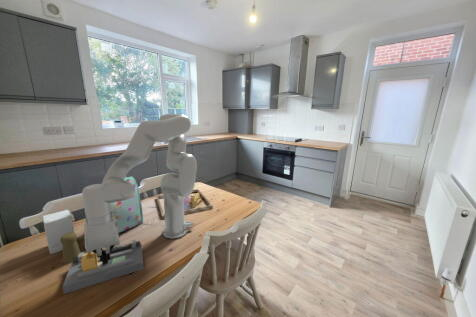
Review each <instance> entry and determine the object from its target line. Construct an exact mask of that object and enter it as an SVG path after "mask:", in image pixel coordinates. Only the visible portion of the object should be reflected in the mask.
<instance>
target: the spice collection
mask: <svg viewBox="0 0 476 317" xmlns="http://www.w3.org/2000/svg"><path fill="white" fill-rule="evenodd" d="M183 198H184V210H188V209H193V208H197V207H198V206H199V205H202V204H201V202H202V203H203V201H202V197H201V196H200V194H199V193H194V195H191V194H190V195H189V196H187V197H183Z"/></svg>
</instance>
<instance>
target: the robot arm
mask: <svg viewBox="0 0 476 317" xmlns="http://www.w3.org/2000/svg"><path fill="white" fill-rule="evenodd" d="M191 126H192V124H191V119H190V118H189V117H188V116H187V115H186V114H183V113H164V114H162V115H161V116H160V117H159V119H158V120H144V121H141V122H140V123H139V125H138V126H137V127H136V130H135V132H134V134H133V136H132V138H131V140H130V141H129V143H128V145H127V146H126V149H125V151H124V152H123V153H122V154H121V155H120V156H118V158H116V159H115V160H114V162H113V163H112V164H111V165H110V167H109V168H108V169H107V172H106V174H105V175H104V177H103V179H102V182H101V183H95V184H90V185H87V186H85V187H84V188H83V189H82V192H81V195H82V202H83V201H84V203H83V207H84V214H86V216H85V223H84V231H83V234H84V235H83V237H84V238H83V239H84V248H85V254H86V253H92V252H93V253H96V254H98V256H100V262H102V263H103V264H105V263H106V264H107V263H108V260H109V259H110V251H111V250H112V249H113V247H117V246H121V240H120V233H119V231H118V226H117V222H116V219H115V217H113V216H116V212H112V210H111V204H110V203H113V202H119V201H124V200H127V199H129V198H131V197H132V196H133V194H134V192H135V188H134V186H133V185H132V184H131V183H130V182H127V181H125V180H124V179H125V177H127V175H128V173H129V172H130V170H132V168H134V167H136V166H139V165H140V164H142V163H145V162H146V161H147V160H148V158H149V157H150V154H151V152H152V150H153V148H154V146H155V144H156V143H163V142H168V143H167V144H168V146H167V153H166V167H167V168H168V169H169V170H171V171H174V172H168V173H166V174H164V175H162V178H161V179H160V189H161V191H162V195H163V198H162V199H163V208H164V211H163V212H164V214H165V219H164V222H165V225H164V226H165V227H164V228H163V229H162V236H163V237H164V238H167V239H173V240H174V239H178V238H181V237H183V236H185V235H186V234H187V233H188V230H189V229H188V228H189V227H192V226H195V222H194V221H191V220H187V221H185V215H184V198H183V197H187V196H189V195H191V194H193V193H192V191H193V190H195V183H196V177H197V170H198V163H197V159H196V157H195V155H193V154H191V153H187V138H186V134H187V133H188V132H189V130H190V129H191ZM175 172H178V173H175ZM86 221H87V222H86ZM103 248H105V249H103ZM104 250H105V251H104Z"/></svg>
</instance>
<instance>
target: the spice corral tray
mask: <svg viewBox="0 0 476 317" xmlns="http://www.w3.org/2000/svg"><path fill="white" fill-rule="evenodd" d="M192 192H198V193H199V194H200V195H201V196H200V195H199V196H200V197H201V198H203V199H204V200H205V201H204V200H203V201H204V202H205V203H206V205H203V206H197V207H196V208H191V209H188V210H184V216H185V215H189V214H194V213H198V212H203V211H207V210H212V209H214V208H213V207H214V206H213V204H212V202H210V201H209V199H208V197H206V196H205V195H204V194H203V192H201V190H199V189H198V188H195V189H193V191H192ZM155 198H157V199H156V201H157V202H156V203H157V204H158V205H157V206H158V208H159V212H160V216H161V218H162V220H165V213H164V211H163V208H162V204H161V201H160V199H159V198H161V199H164V198H163V194H159V195H156V197H155Z"/></svg>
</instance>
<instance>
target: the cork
mask: <svg viewBox="0 0 476 317" xmlns="http://www.w3.org/2000/svg"><path fill="white" fill-rule="evenodd" d="M77 238H78V234H77V233H76V232H75V231H74V232H71V233H67V234H65V235H63V236H62V237H61V238H60V242H61V243H62V244H63V250H62V263H63V264H70V263H71V264H72V262H73V258H74V257H78V255H79V253H82V252H81V250H80V247H79V244H78V242H77Z"/></svg>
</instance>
